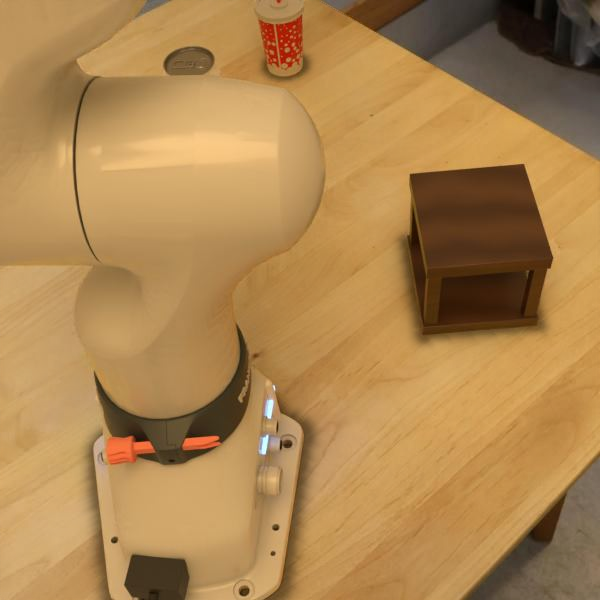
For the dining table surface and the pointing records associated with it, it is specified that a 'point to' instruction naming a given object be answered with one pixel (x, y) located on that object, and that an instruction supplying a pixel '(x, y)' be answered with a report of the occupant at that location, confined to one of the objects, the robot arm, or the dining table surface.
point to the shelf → (476, 249)
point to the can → (191, 62)
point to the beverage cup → (281, 34)
